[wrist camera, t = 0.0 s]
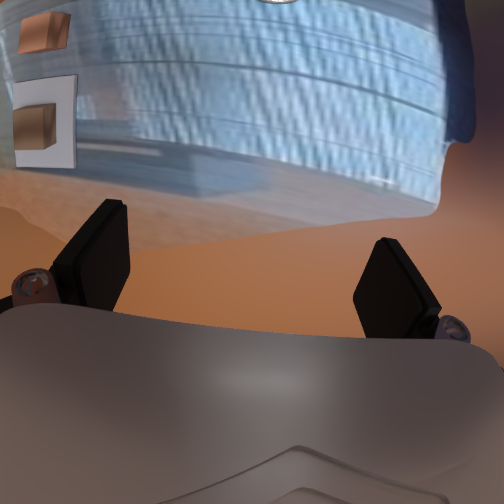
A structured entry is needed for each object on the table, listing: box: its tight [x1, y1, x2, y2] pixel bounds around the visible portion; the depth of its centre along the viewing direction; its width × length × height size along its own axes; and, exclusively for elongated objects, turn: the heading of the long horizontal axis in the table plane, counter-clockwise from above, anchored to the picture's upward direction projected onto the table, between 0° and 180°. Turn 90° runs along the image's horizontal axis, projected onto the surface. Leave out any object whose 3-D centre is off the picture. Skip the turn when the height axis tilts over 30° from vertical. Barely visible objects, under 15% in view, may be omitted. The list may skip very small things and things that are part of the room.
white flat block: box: [13, 75, 78, 168], centre depth 38 cm, size 16×14×5 cm
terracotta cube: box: [18, 12, 71, 54], centre depth 29 cm, size 6×6×6 cm
